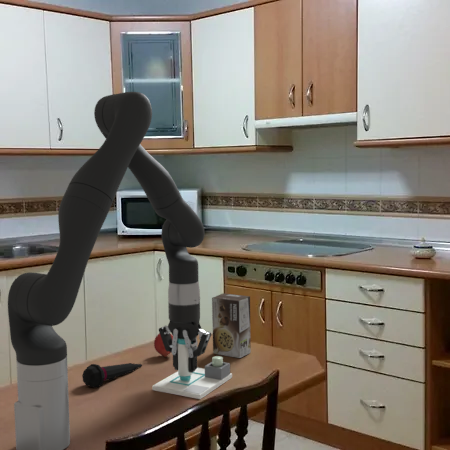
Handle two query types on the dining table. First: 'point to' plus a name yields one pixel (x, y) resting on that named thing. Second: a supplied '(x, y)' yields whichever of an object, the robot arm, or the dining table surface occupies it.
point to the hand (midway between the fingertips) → (185, 369)
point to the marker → (183, 361)
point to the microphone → (106, 373)
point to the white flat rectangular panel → (190, 384)
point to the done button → (217, 361)
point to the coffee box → (231, 325)
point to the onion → (160, 346)
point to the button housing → (217, 371)
